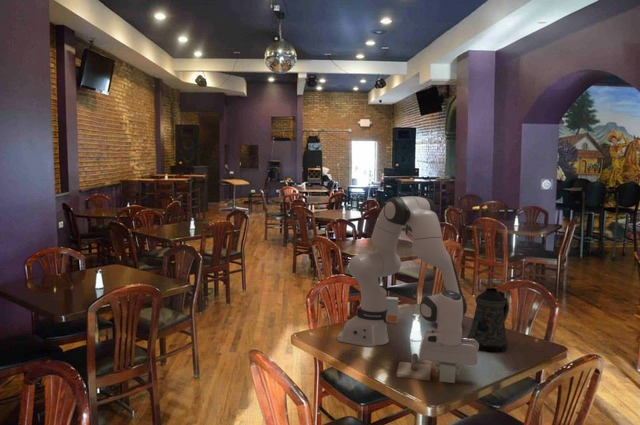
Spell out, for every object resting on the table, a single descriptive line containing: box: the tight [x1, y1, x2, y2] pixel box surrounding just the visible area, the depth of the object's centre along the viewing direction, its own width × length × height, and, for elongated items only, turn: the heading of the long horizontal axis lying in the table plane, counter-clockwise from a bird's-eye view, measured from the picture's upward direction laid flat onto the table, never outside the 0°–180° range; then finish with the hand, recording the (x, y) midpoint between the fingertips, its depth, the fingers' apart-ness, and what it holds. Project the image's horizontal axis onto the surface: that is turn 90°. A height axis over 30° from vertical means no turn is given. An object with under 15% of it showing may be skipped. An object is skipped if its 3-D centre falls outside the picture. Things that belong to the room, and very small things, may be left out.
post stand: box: [396, 352, 432, 381], centre depth 197 cm, size 12×12×7 cm
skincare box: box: [386, 296, 399, 324], centre depth 259 cm, size 6×4×12 cm
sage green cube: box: [439, 362, 457, 384], centre depth 191 cm, size 5×5×6 cm
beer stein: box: [466, 287, 510, 354], centre depth 228 cm, size 16×19×25 cm
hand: (447, 373), depth 191 cm, fingers closed on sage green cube, 5 cm apart
